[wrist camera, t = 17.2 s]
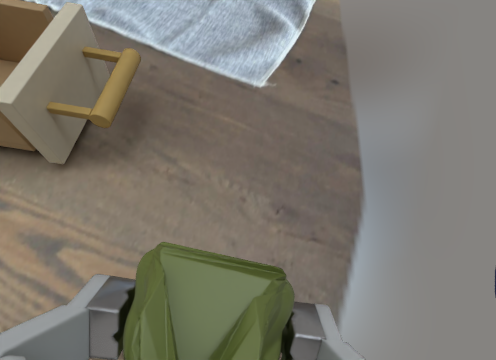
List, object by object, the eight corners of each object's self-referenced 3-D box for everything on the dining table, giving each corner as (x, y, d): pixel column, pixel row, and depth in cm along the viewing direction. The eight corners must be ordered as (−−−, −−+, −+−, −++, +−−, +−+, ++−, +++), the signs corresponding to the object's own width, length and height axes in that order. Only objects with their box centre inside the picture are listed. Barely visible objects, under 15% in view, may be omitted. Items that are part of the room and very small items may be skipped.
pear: (138, 374, 13) (-19, 461, 4) (176, 263, 16) (124, 176, 7) (254, 403, 13) (329, 554, 4) (273, 286, 16) (344, 229, 7)
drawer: (155, 83, 27) (140, 15, 21) (119, 173, 22) (86, 116, 16) (-12, 54, 26) (-76, -25, 20) (-88, 140, 21) (-201, 68, 15)
